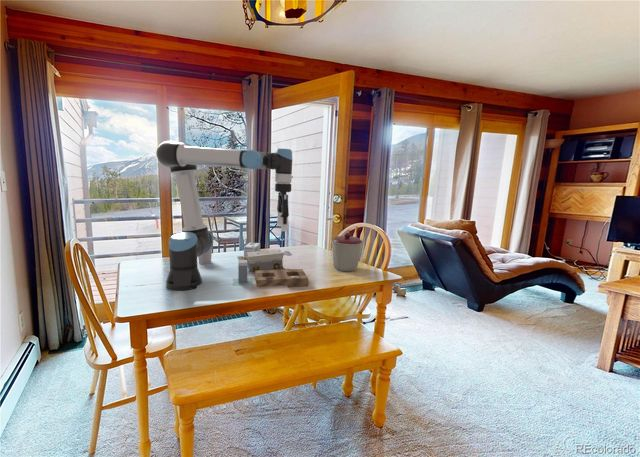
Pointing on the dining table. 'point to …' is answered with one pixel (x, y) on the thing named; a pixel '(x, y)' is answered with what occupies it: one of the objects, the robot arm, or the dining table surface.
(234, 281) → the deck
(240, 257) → the electrical outlet
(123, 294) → the dining table surface
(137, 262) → the dining table surface
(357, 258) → the canister
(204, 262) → the coffee cup
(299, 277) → the socket board
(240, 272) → the plug
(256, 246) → the light bulb box
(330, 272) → the dining table surface
